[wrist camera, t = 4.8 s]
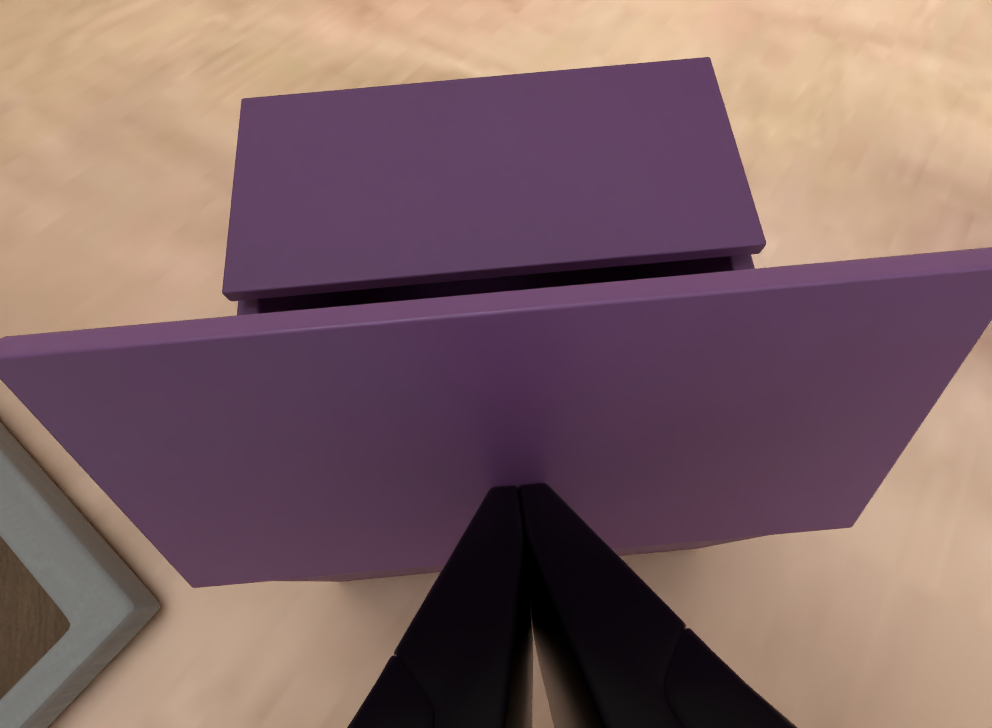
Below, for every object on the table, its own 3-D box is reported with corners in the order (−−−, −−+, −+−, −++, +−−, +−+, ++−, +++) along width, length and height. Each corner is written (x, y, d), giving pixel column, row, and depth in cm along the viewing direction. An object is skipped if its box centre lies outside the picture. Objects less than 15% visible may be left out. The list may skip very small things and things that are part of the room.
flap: (840, 508, 10) (853, 528, 10) (199, 567, 10) (192, 589, 10) (1006, 243, 6) (1032, 264, 6) (0, 334, 6) (-22, 358, 6)
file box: (698, 548, 18) (854, 518, 10) (337, 581, 18) (188, 580, 10) (637, 251, 22) (711, 53, 14) (342, 278, 22) (238, 95, 14)
